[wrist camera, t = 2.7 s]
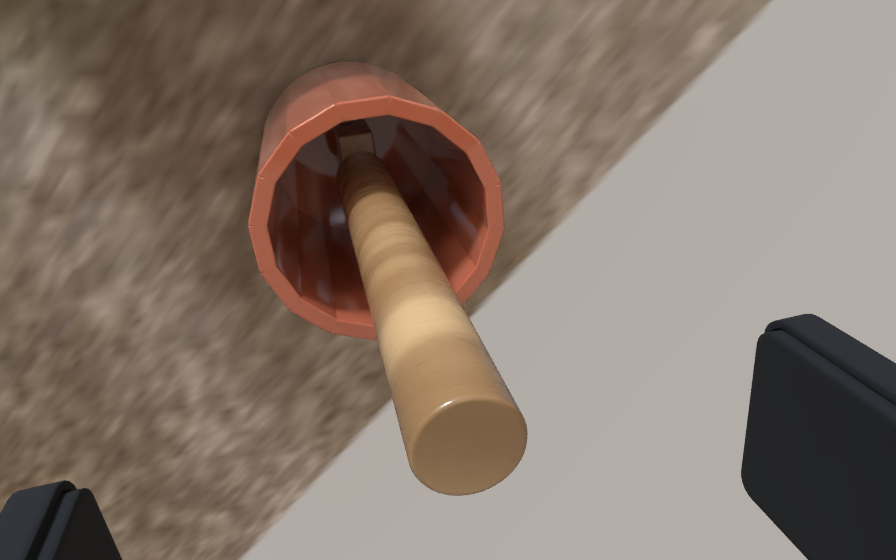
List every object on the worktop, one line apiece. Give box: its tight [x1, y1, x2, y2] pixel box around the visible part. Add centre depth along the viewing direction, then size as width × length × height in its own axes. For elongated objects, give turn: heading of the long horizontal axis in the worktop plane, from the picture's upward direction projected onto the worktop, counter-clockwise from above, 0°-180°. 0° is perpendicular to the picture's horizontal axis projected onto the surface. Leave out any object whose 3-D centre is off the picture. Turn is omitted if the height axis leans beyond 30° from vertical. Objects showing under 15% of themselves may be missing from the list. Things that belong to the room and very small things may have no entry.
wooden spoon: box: [333, 119, 527, 496], centre depth 17 cm, size 3×2×18 cm, turn 6°
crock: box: [248, 61, 504, 340], centre depth 22 cm, size 7×7×9 cm
